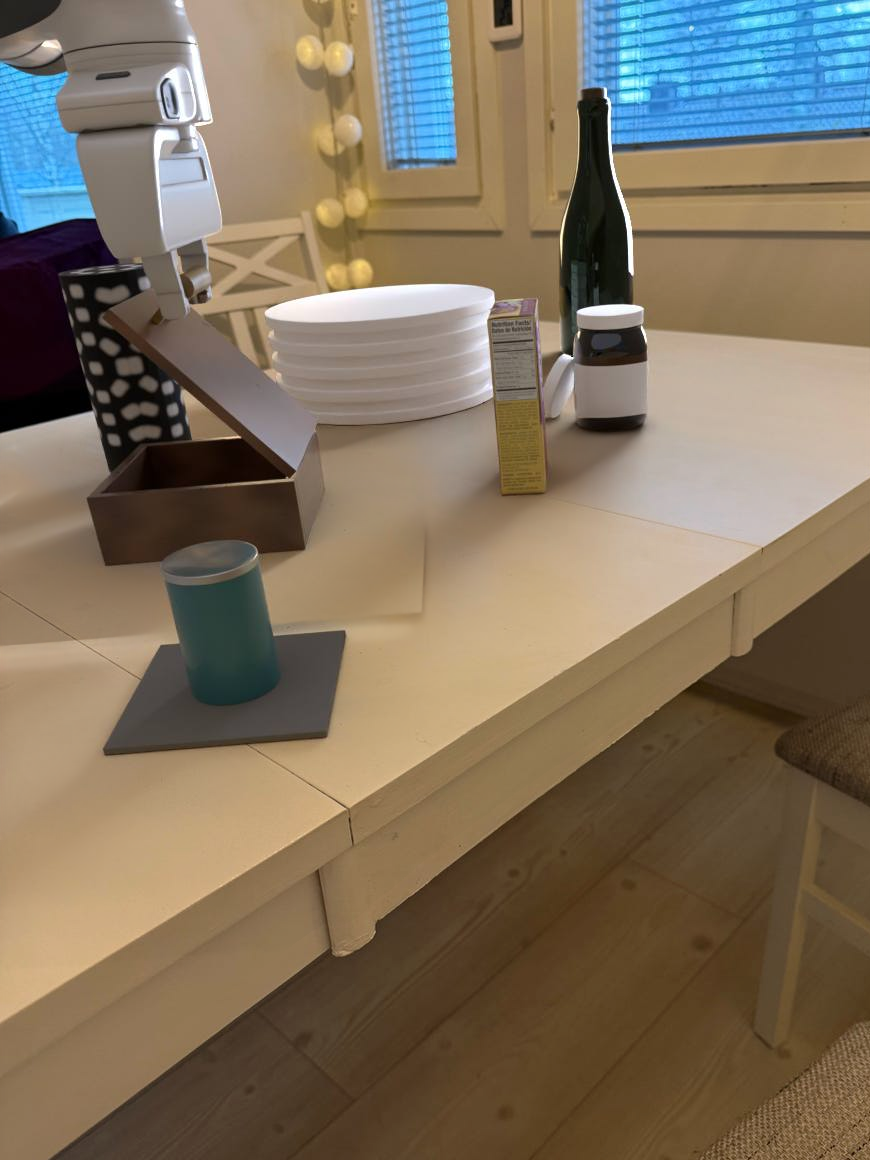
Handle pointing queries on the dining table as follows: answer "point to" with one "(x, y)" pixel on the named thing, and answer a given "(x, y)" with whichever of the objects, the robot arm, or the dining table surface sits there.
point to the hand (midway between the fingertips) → (189, 310)
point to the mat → (284, 713)
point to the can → (222, 621)
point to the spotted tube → (120, 365)
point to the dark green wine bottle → (593, 224)
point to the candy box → (518, 395)
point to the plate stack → (384, 352)
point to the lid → (217, 373)
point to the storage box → (204, 500)
